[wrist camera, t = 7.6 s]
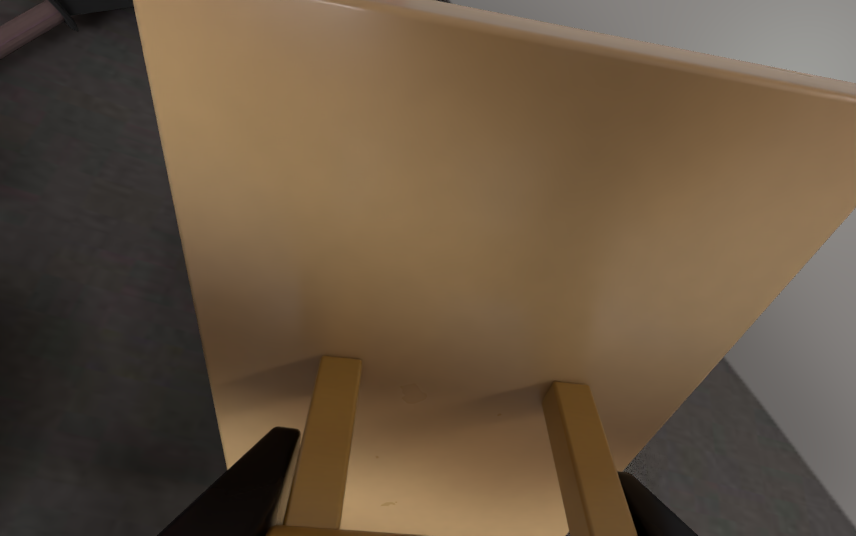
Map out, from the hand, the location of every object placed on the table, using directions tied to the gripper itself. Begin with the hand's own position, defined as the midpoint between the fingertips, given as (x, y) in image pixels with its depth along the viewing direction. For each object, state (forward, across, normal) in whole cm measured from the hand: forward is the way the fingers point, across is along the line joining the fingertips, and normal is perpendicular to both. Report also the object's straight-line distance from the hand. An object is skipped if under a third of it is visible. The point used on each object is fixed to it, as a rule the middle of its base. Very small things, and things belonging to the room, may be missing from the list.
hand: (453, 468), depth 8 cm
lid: (+2, 0, -1) cm, 2 cm away
